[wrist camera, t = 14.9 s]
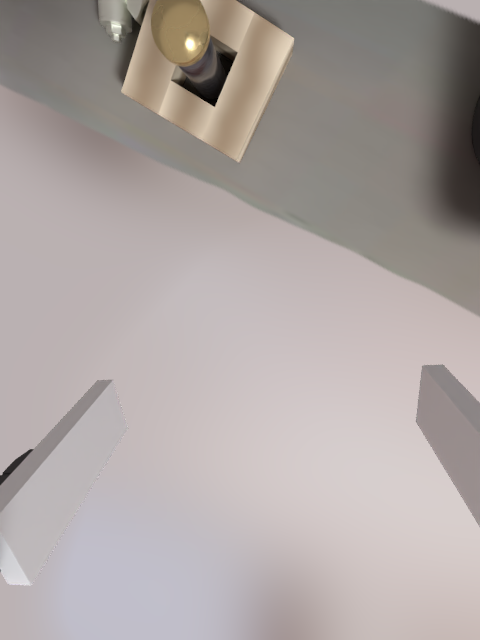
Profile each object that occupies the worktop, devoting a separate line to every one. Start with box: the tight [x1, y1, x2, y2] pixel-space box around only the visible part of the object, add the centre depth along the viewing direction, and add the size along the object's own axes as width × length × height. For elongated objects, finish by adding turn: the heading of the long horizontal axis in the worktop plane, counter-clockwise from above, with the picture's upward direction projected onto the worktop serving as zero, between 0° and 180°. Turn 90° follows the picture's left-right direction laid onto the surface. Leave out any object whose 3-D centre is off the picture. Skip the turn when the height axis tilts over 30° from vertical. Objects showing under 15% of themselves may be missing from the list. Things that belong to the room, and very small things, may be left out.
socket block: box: [121, 0, 294, 163], centre depth 34 cm, size 14×12×4 cm
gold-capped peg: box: [151, 0, 226, 99], centre depth 30 cm, size 4×4×13 cm
